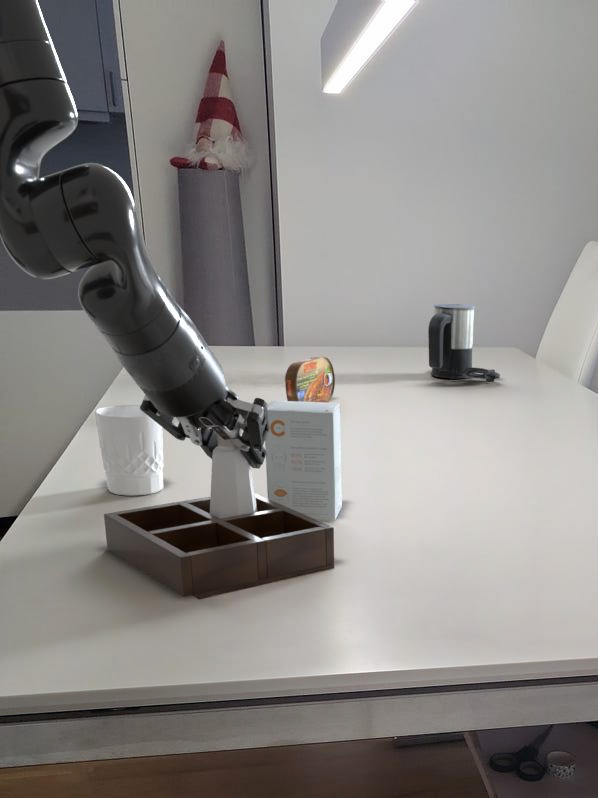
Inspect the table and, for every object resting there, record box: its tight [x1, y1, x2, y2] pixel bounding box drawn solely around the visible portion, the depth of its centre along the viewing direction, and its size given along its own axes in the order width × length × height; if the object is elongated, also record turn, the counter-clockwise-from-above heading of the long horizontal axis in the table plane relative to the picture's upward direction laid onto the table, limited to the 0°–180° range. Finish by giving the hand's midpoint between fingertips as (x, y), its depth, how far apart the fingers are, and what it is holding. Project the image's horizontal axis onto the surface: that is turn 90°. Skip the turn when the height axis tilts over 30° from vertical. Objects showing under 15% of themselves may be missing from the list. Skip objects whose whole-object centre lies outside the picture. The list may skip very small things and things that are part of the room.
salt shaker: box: [209, 428, 257, 519], centre depth 110 cm, size 5×5×11 cm
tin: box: [284, 356, 336, 403], centre depth 186 cm, size 15×3×8 cm, turn 161°
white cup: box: [94, 404, 164, 497], centre depth 130 cm, size 8×8×10 cm
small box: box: [264, 400, 343, 522], centre depth 123 cm, size 8×6×13 cm
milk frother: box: [427, 303, 501, 383], centre depth 220 cm, size 14×16×15 cm
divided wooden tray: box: [103, 492, 335, 600], centre depth 107 cm, size 17×17×4 cm
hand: (240, 458), depth 111 cm, fingers closed on salt shaker, 4 cm apart
